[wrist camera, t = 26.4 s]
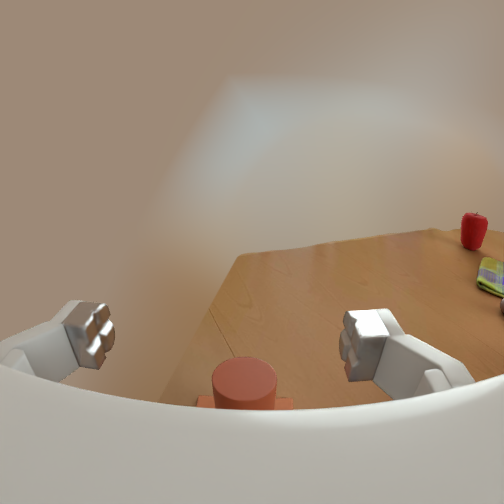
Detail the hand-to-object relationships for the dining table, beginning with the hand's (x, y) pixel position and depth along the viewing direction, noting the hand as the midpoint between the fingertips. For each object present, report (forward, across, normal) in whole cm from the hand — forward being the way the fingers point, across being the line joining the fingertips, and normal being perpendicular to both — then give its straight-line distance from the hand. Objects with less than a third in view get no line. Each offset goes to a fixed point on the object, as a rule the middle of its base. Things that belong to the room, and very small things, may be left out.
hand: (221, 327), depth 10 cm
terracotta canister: (+12, 0, +24) cm, 27 cm away
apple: (+76, -78, +25) cm, 112 cm away
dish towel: (+49, -71, +25) cm, 90 cm away
